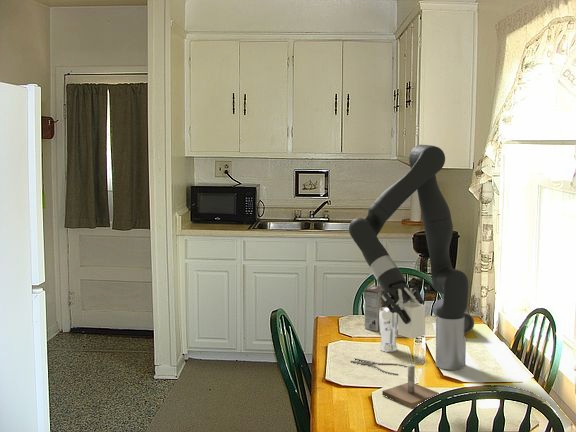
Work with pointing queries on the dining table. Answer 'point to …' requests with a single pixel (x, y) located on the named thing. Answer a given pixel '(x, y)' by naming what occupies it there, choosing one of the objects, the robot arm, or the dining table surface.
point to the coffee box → (373, 307)
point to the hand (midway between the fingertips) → (415, 320)
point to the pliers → (376, 363)
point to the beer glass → (388, 329)
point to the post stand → (409, 391)
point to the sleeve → (412, 321)
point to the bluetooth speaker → (467, 317)
